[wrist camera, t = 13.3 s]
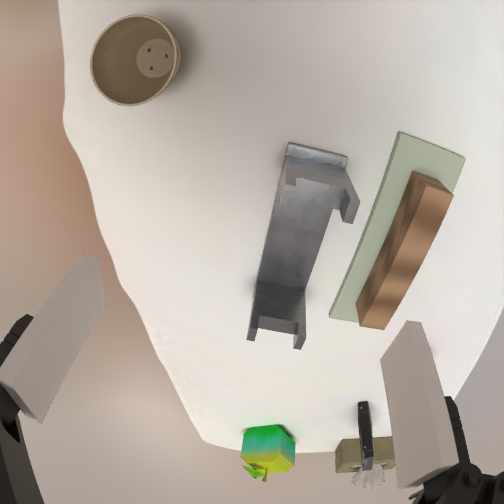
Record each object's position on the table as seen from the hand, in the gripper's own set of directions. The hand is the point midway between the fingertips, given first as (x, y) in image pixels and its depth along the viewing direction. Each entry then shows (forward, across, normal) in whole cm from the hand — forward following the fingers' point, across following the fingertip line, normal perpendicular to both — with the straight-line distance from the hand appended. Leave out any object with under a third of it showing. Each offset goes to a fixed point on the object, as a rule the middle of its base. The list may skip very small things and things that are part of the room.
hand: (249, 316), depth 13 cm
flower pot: (+29, -16, +8) cm, 34 cm away
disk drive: (+29, +34, -55) cm, 71 cm away
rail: (+28, +19, -10) cm, 35 cm away
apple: (+29, +15, -73) cm, 80 cm away
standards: (+29, +5, -12) cm, 32 cm away
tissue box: (+29, +46, -76) cm, 93 cm away
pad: (+29, +19, -10) cm, 36 cm away
